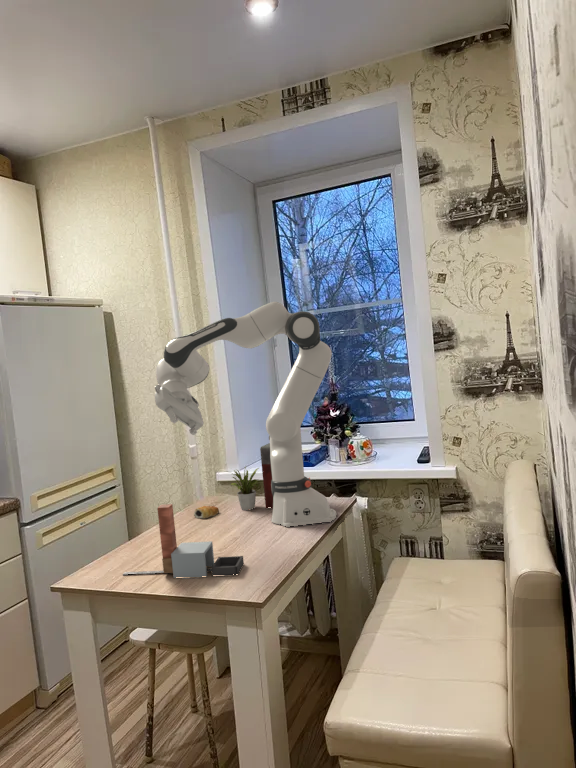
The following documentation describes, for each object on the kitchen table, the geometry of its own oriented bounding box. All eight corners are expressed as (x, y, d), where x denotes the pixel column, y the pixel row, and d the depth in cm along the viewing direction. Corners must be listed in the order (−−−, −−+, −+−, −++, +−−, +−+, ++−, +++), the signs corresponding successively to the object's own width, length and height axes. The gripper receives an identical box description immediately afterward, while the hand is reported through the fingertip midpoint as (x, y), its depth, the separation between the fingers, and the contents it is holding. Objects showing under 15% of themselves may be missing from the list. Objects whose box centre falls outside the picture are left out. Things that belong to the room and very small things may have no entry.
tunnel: (214, 564, 169) (212, 541, 168) (206, 577, 160) (203, 552, 160) (183, 566, 170) (181, 542, 170) (173, 578, 161) (171, 554, 161)
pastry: (211, 511, 227) (210, 501, 227) (223, 513, 223) (222, 503, 223) (192, 518, 220) (191, 507, 220) (204, 520, 216) (203, 509, 215)
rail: (214, 569, 165) (214, 568, 165) (213, 571, 164) (213, 570, 164) (124, 573, 169) (124, 572, 168) (122, 575, 167) (122, 574, 167)
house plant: (223, 515, 219) (218, 471, 218) (228, 505, 232) (224, 463, 231) (261, 512, 218) (257, 468, 217) (265, 502, 232) (261, 461, 231)
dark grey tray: (243, 564, 167) (243, 556, 167) (237, 575, 159) (236, 566, 159) (219, 565, 168) (218, 557, 168) (212, 576, 160) (211, 567, 160)
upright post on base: (203, 565, 167) (197, 502, 166) (199, 571, 162) (192, 506, 161) (168, 566, 168) (162, 504, 167) (163, 573, 164) (156, 508, 163)
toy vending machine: (299, 501, 229) (292, 428, 228) (287, 509, 219) (280, 433, 217) (278, 500, 233) (271, 429, 231) (265, 508, 223) (258, 434, 221)
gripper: (161, 376, 190) (170, 407, 181) (201, 404, 205) (211, 434, 196) (146, 388, 191) (154, 419, 182) (187, 414, 206) (196, 445, 197)
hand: (184, 427), depth 189 cm, fingers open, 8 cm apart
